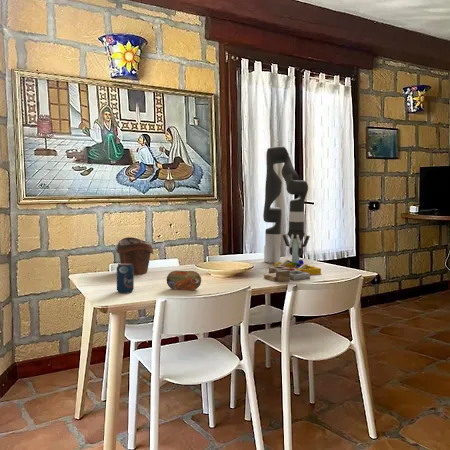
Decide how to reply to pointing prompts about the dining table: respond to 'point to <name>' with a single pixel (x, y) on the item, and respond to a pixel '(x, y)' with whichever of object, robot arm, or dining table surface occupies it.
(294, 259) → the dowel
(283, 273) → the bench dog
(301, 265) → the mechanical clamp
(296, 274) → the tray
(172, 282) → the tin
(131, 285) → the soda can
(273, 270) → the socket block
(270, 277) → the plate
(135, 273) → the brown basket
